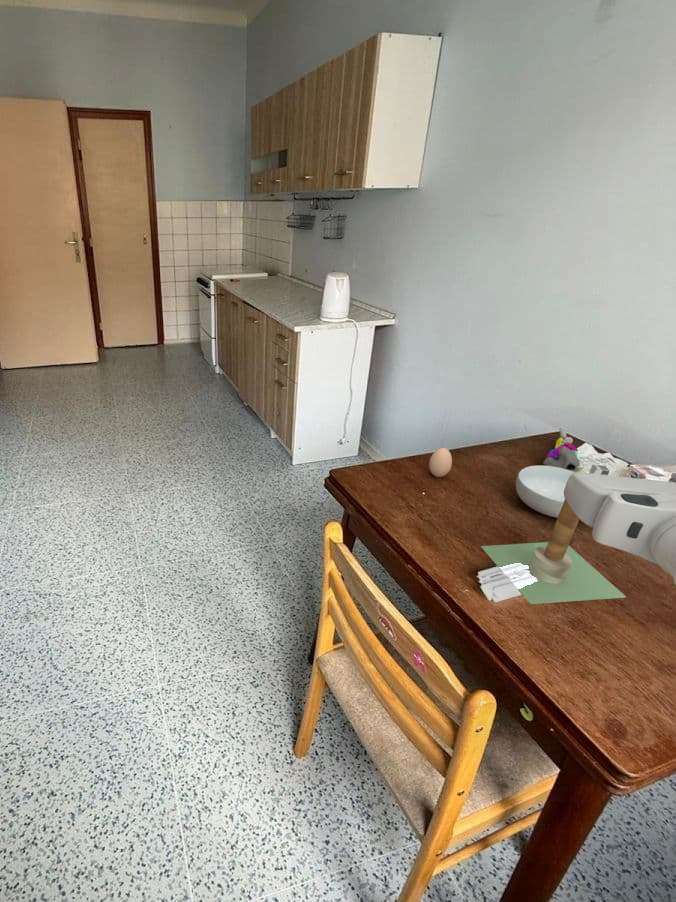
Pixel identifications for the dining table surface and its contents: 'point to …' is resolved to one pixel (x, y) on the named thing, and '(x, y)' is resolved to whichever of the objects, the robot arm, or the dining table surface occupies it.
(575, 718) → the dining table surface
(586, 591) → the mat
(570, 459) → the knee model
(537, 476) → the cereal bowl
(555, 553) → the dish brush
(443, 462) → the egg
